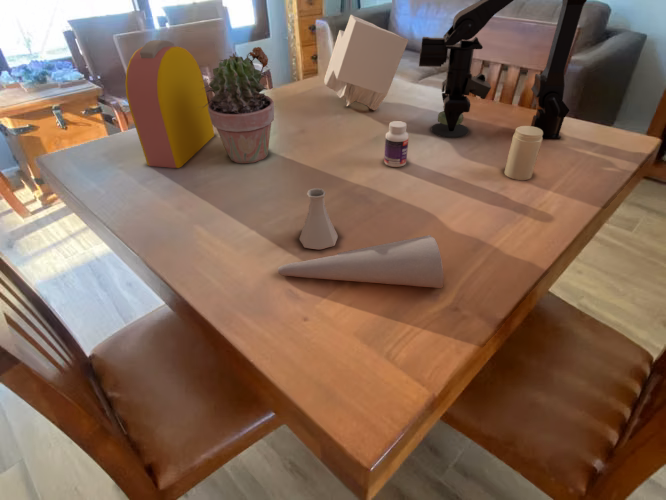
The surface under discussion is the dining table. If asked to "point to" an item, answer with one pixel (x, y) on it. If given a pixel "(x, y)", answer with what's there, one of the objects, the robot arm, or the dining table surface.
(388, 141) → the pill bottle
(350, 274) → the grey long cone
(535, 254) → the dining table surface
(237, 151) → the potted plant
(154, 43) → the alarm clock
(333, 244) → the flask
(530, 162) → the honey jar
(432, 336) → the dining table surface
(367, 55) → the beige tilted block
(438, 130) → the coaster
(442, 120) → the lid
